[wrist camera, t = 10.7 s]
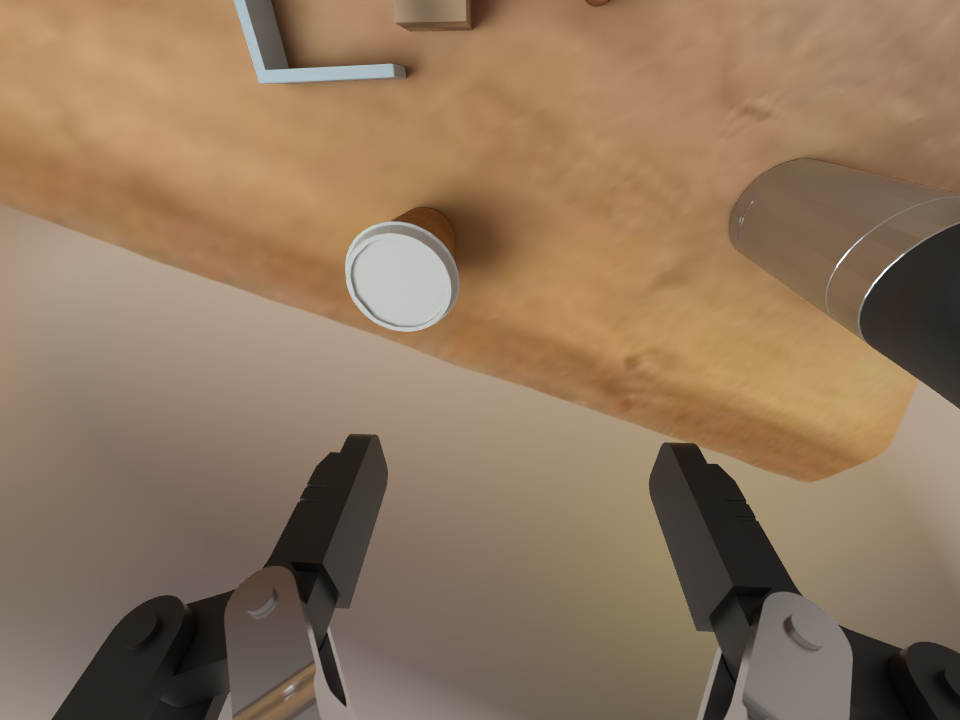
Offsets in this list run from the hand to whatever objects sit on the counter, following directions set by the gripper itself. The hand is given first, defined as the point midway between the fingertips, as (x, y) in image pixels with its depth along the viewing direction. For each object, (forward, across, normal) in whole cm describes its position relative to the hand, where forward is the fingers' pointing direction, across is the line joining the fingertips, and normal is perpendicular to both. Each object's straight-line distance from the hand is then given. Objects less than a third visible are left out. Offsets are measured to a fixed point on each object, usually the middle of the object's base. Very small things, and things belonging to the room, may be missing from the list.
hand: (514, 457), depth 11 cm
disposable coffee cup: (+32, +9, +4) cm, 34 cm away
